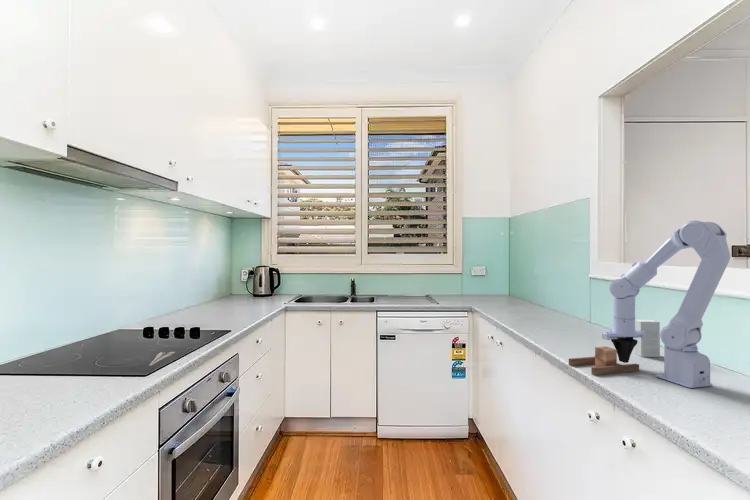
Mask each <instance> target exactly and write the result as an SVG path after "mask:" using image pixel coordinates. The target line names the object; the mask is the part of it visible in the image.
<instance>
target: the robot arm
mask: <svg viewBox="0 0 750 500" xmlns="http://www.w3.org/2000/svg"><path fill="white" fill-rule="evenodd" d="M690 248H692V249H694V251H695V253H696V254H697V255H698V257H700V259H701V261H700V262H699V265H698V267H697V269H696V271H695V274H694V276H693V278H692V280H691V282H690V284H689V287H688V289H687V291H686V294H685V296H684V298H683V301H682V302H681V304H680V307H679V309H678V311H677V313H676V314H674V315H673V317H672V318H671V319H670V320H669V323H668V324H667V325H666V326H664V327H662V329H661V330H660V341H661V342H662V343H663V344H664V348H663V349H664V353H663V355H664V357H663V358H664V359H663V362H664V364H663V365H664V366H663V367H664V368H663V374H662V373H660V374H656V375H655V376H656V378H660V379H662V380H665V381H669V382H670V383H671V382H672V383H673V384H677V385H680V386H683V387H685V388H688V389H693V388H703V387H712V386H713V383H711V360H710V358H709V357H708V356H707V355H706V354H704V353H701V352H700V351H699V349H698V346H697V344H698V343H700V341H701V339H702V328H703V320H702V319H703V316H704V315H705V312H706V311H707V309H708V307H709V305H710V302H711V300H712V298H713V296H714V294H715V291H716V289H717V287H718V285H719V283H720V281H721V279H722V277H723V275H724V273H725V271H726V269H727V266H728V264H729V263H730V260H731V254H730V249H729V246H728V242H727V233H726V231H725V230H724V229H723V228H722V227H721V226H720V225H719V224H717V223H715V222H713V221H700V220H690V221H687V222H685V223H683V224H682V226H681V227H680V228H678V229H677V230H675V231H674V232H673V233H672V234H671V236H670V237H668V239H667V240H666V241H664V242H663V244H662V245H660V247H658V249H656V251H655V252H654V253H652V255H651V256H649V258H647V259H646V260H639V261H637V262H633V263H632V264H631V266H632V267H631V268H630V269H629V270H628V271H627V272H625V273H622V274H621V275H620V278H617V279H614V280H612V281H611V283H610V285H609V293H611V295H612V297H613V299H612V302H613V303H612V304H613V305H612V308H613V309H612V312H613V313H612V329H610V330H609V331H605V332H601V339H602V340H605V341H610V342H612V345H613V346H614V349H616V350H617V359H618V361H619V362H622V363H625V364H628V363H629V361H630V358H631V355H632V352H633V350H635V345H636V344H637V340H635V338H639V337H641V338H646V332H645V331H640V330H635V320H636V297H637V296H638V295H639V294H640V291H641V290H640V289H642V288H643V287H644V286H645V285H647V283H649V282H650V281H651V280H653V278H654V277H656V276H657V274H658V268H659V267H661V266H662V265H663V264H664V263H666V262H667V261H668V260H669V259H670V258H672V257H673V256H674V255H676V254H677V253H678V252H680V251H681V250H684V249H685V250H686V249H690Z"/></svg>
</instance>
